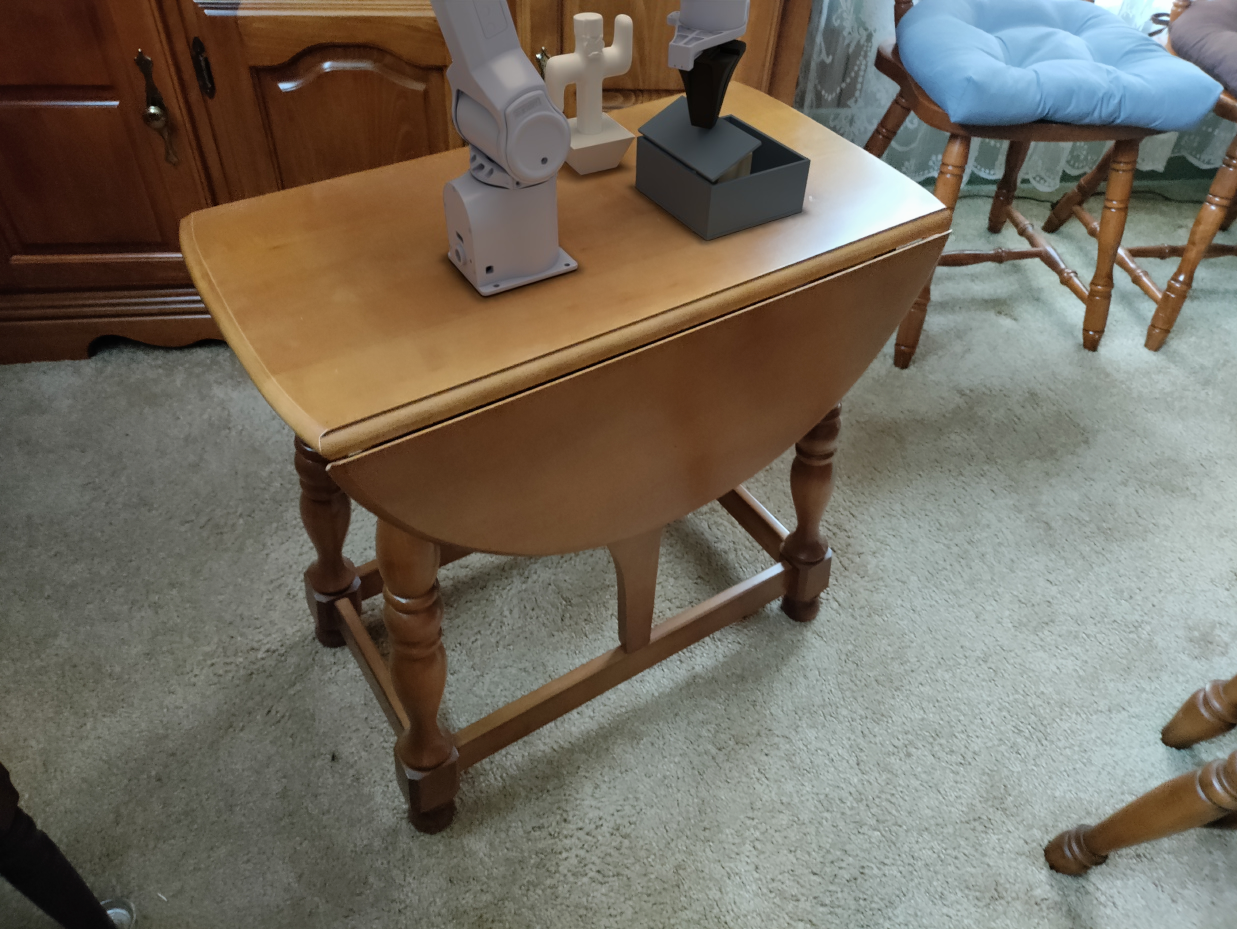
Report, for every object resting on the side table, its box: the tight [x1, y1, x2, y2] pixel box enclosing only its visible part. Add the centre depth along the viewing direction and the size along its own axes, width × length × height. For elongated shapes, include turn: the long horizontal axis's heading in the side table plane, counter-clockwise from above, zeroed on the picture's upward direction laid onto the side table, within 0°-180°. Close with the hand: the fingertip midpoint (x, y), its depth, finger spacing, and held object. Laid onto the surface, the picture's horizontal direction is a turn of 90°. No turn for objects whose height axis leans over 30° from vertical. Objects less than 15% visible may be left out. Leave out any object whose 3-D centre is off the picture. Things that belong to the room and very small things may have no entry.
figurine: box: [544, 12, 637, 176], centre depth 89 cm, size 7×9×15 cm
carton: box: [634, 113, 812, 242], centre depth 86 cm, size 12×13×5 cm
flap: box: [637, 94, 761, 182], centre depth 82 cm, size 6×13×1 cm, turn 33°
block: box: [696, 152, 752, 185], centre depth 88 cm, size 4×4×4 cm
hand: (703, 125), depth 82 cm, fingers closed
